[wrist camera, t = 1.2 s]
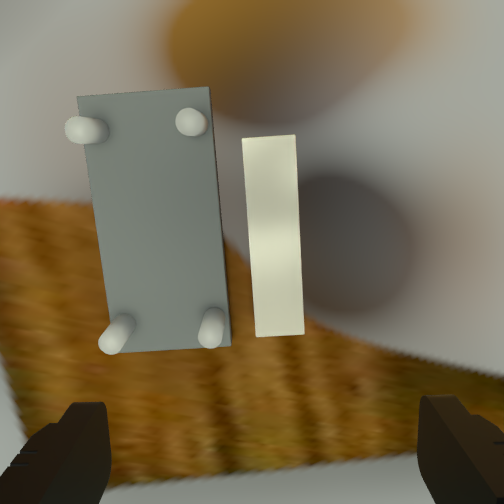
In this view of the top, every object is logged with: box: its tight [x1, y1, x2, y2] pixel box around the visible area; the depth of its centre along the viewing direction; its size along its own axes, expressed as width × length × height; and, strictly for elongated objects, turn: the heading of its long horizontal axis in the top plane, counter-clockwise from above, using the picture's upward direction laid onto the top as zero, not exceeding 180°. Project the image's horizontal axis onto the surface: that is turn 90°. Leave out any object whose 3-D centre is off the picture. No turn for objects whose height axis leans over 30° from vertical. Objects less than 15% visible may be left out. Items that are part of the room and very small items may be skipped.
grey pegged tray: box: [65, 87, 232, 355], centre depth 27 cm, size 16×8×4 cm, turn 4°
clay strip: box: [242, 135, 304, 337], centre depth 29 cm, size 12×3×2 cm, turn 4°
